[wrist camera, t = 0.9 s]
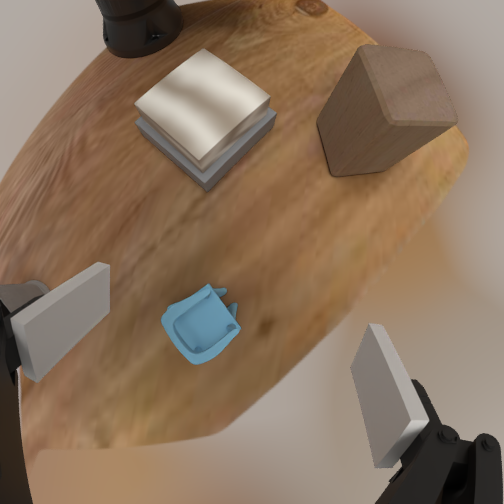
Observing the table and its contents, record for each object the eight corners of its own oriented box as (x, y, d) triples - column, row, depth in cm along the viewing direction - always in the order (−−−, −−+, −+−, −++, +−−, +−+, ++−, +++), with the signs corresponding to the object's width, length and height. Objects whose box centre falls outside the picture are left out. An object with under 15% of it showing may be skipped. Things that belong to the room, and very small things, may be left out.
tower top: (205, 68, 39) (203, 48, 34) (266, 114, 39) (270, 96, 34) (143, 120, 38) (134, 103, 33) (202, 173, 38) (198, 160, 33)
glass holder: (63, 300, 41) (3, 310, 26) (36, 368, 40) (-17, 395, 25) (28, 269, 40) (-34, 269, 25) (4, 337, 39) (-52, 353, 24)
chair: (248, 318, 42) (254, 336, 30) (200, 351, 42) (189, 380, 30) (215, 273, 42) (209, 274, 30) (167, 307, 42) (144, 320, 30)
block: (313, 119, 44) (358, 40, 24) (368, 116, 45) (429, 49, 25) (329, 179, 44) (392, 121, 24) (386, 172, 45) (463, 123, 25)
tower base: (207, 78, 44) (205, 61, 39) (272, 128, 44) (276, 113, 39) (143, 136, 43) (134, 122, 38) (207, 192, 43) (204, 183, 38)
